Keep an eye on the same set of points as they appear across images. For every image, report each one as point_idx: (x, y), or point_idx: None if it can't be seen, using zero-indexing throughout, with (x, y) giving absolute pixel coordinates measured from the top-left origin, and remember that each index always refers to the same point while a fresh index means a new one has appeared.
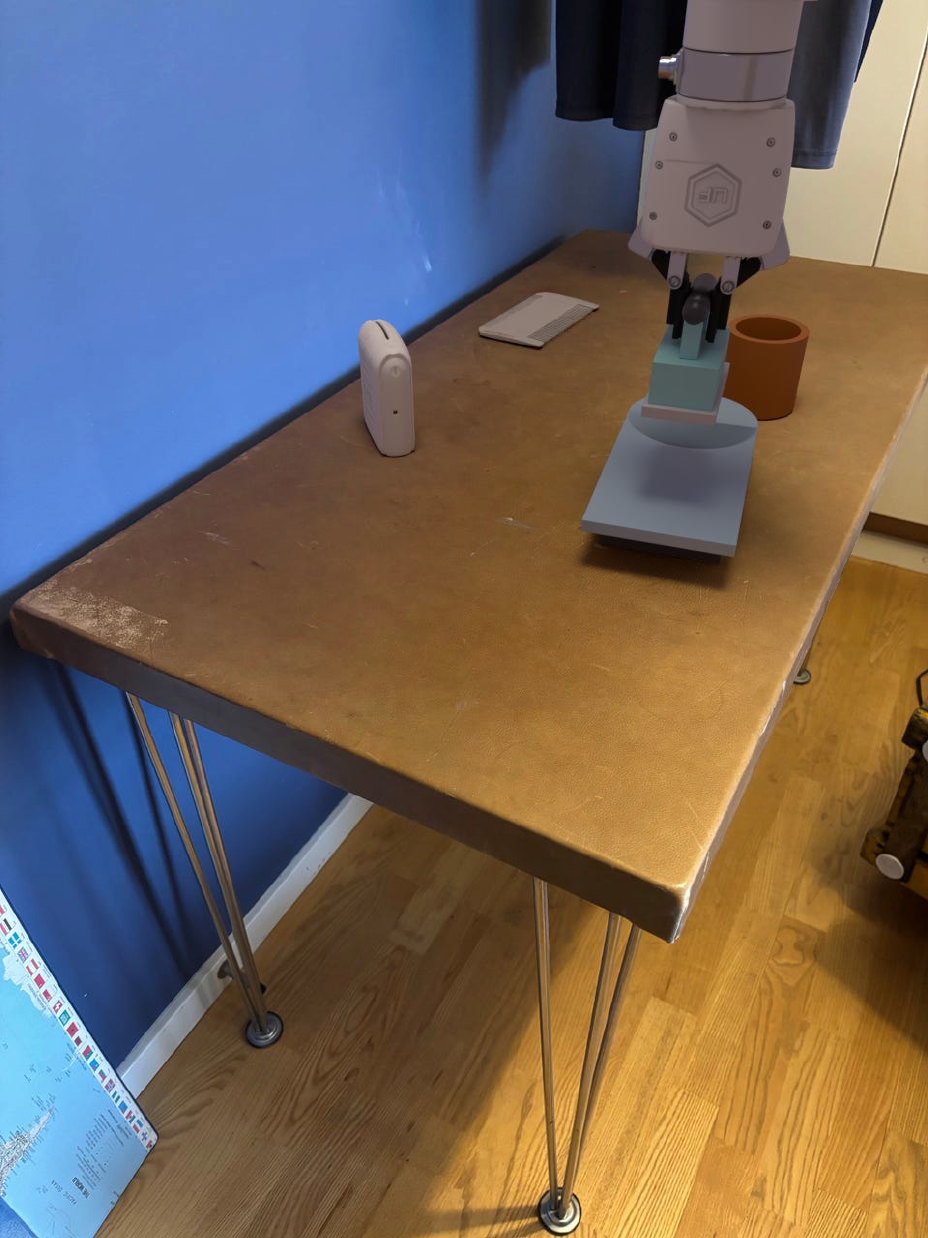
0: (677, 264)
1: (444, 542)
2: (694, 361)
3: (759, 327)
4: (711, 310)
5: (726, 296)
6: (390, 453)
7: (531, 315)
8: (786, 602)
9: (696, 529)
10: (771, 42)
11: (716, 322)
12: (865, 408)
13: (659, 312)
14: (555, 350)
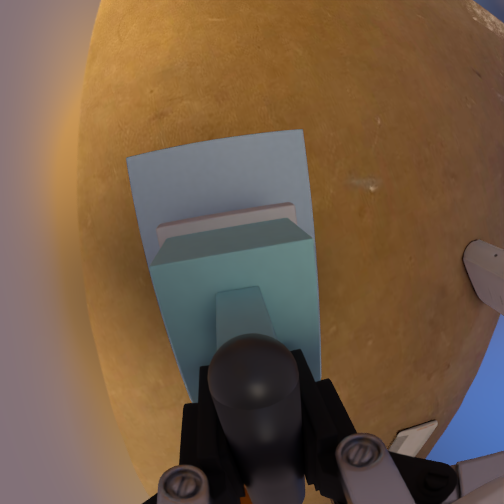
0: (377, 494)
1: (404, 131)
2: (217, 284)
3: (243, 499)
4: (218, 420)
5: (191, 464)
6: (474, 242)
7: (406, 453)
8: (94, 175)
9: (173, 166)
10: None
11: (198, 398)
12: (153, 461)
13: None
14: (387, 436)
